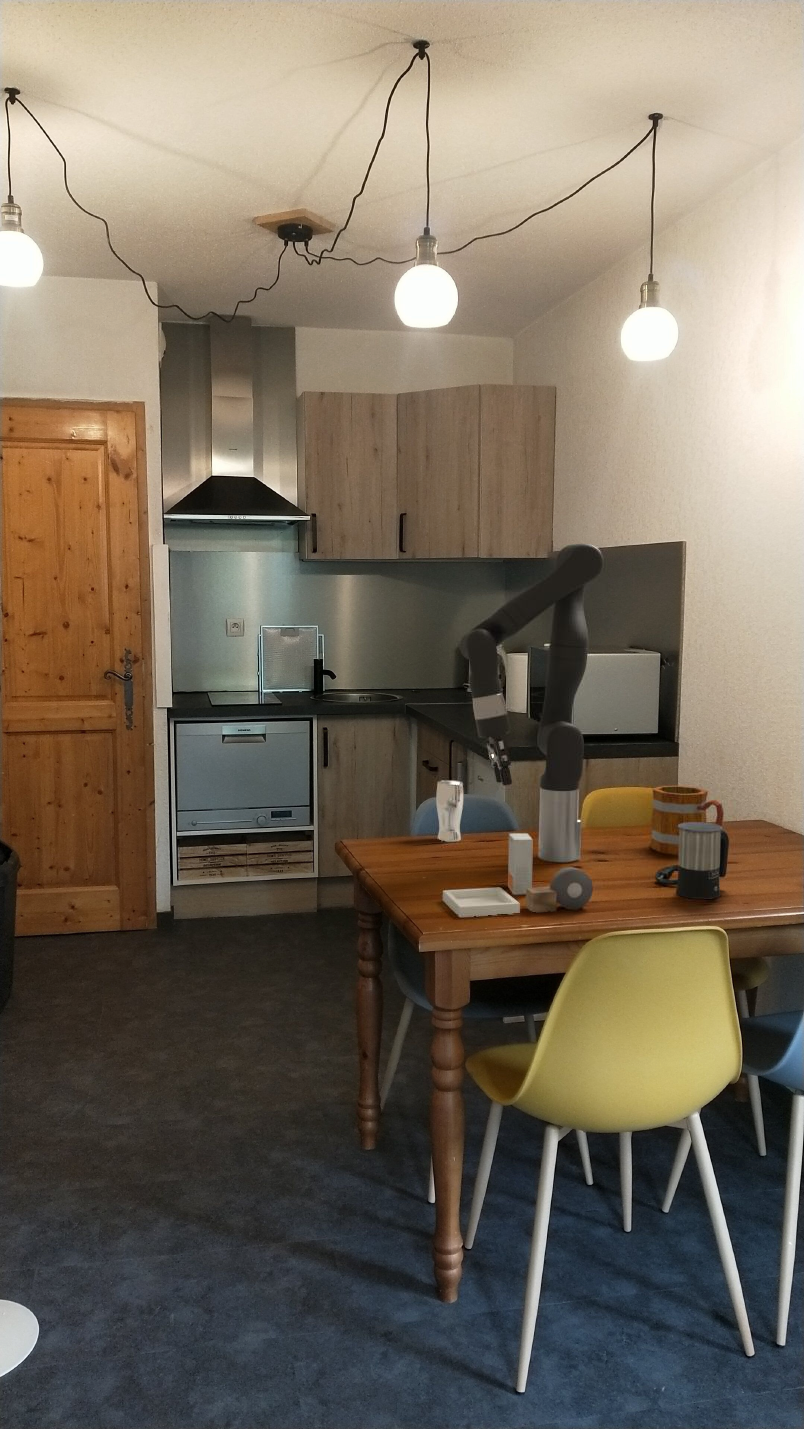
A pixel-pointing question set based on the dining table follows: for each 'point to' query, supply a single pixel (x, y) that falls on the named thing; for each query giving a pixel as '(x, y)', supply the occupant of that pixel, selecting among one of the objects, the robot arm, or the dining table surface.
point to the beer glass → (449, 809)
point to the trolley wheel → (572, 887)
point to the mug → (678, 814)
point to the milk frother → (698, 861)
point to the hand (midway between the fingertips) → (504, 783)
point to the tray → (480, 902)
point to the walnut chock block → (541, 899)
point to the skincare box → (520, 863)
